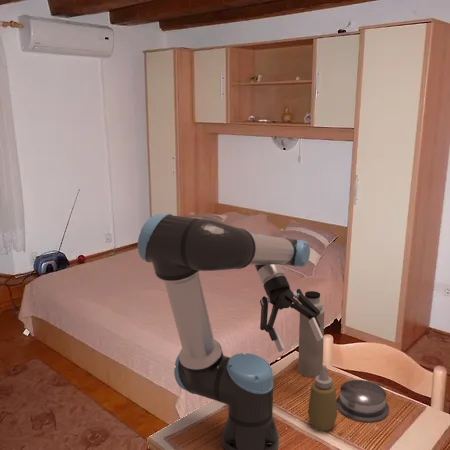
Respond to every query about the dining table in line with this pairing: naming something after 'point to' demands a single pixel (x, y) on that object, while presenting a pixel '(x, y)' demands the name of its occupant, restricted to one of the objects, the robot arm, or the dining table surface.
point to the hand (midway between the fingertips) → (301, 344)
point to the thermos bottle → (311, 340)
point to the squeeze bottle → (322, 402)
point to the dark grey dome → (362, 401)
